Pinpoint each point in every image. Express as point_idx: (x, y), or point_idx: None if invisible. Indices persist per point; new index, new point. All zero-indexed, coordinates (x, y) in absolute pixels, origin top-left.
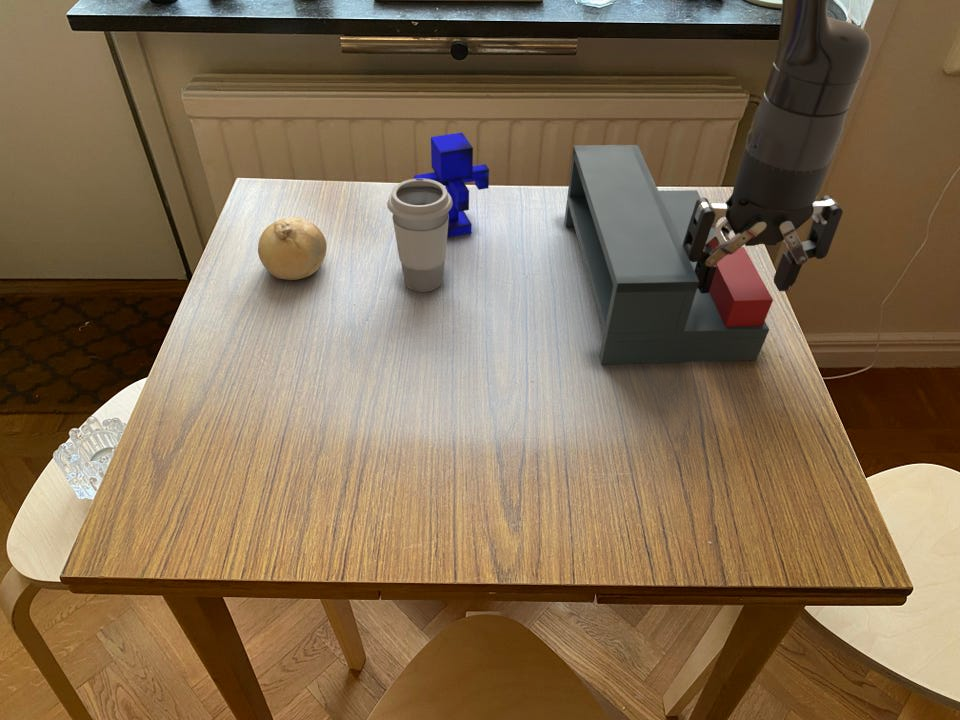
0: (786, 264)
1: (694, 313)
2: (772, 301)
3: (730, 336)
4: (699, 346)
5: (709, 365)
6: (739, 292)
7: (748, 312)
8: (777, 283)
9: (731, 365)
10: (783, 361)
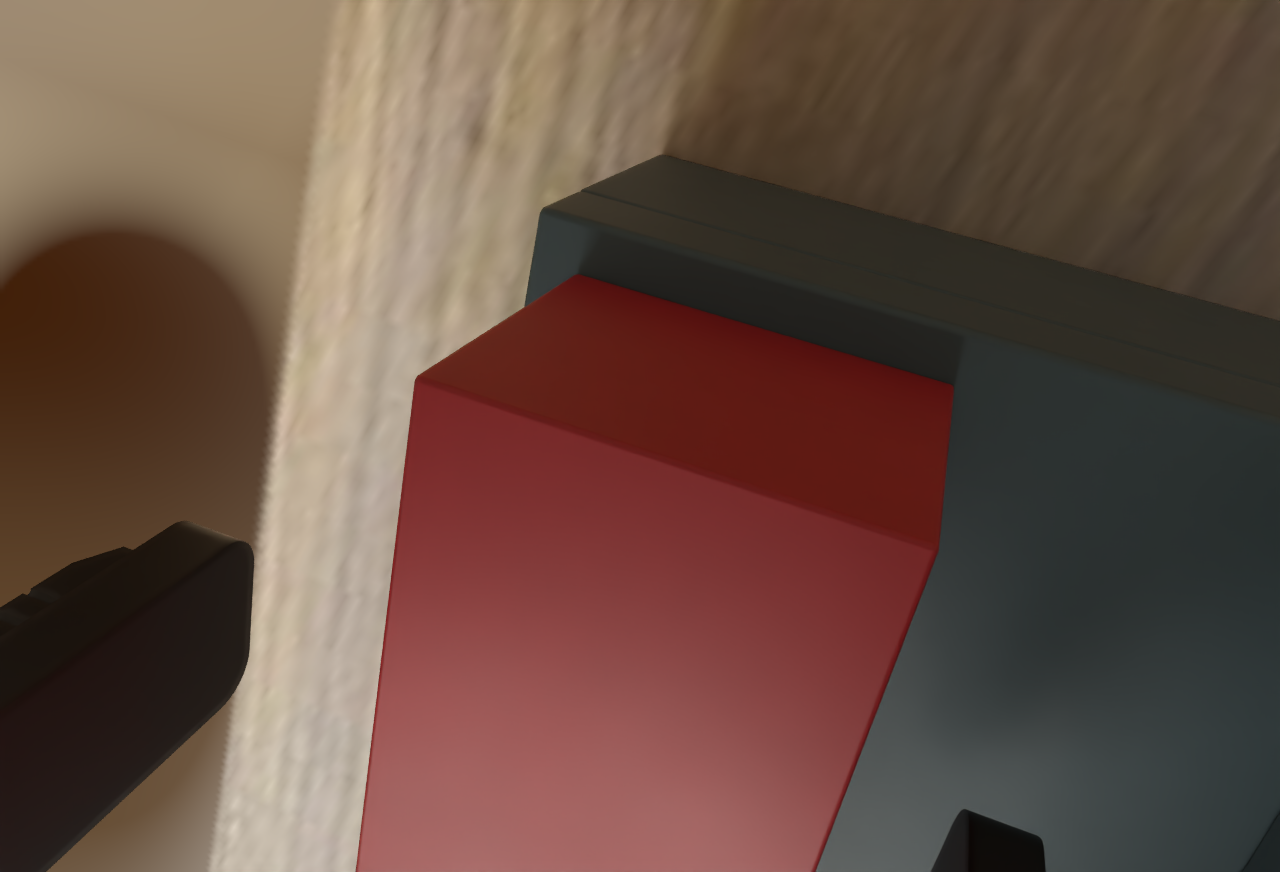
0: (28, 772)
1: (1139, 657)
2: (428, 369)
3: (917, 290)
4: (1189, 338)
5: (1056, 215)
6: (759, 652)
7: (728, 387)
8: (228, 629)
9: (879, 161)
10: (477, 84)
